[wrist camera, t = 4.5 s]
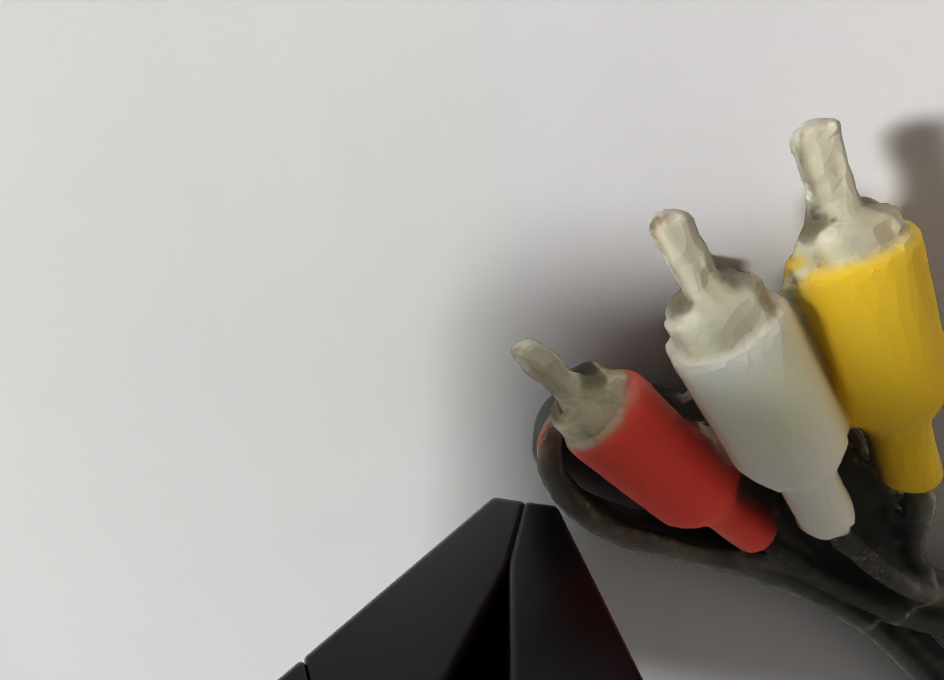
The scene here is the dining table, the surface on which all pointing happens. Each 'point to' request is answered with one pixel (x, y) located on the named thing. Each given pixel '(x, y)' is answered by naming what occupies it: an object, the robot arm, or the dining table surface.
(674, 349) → the composite cable
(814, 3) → the dining table surface
